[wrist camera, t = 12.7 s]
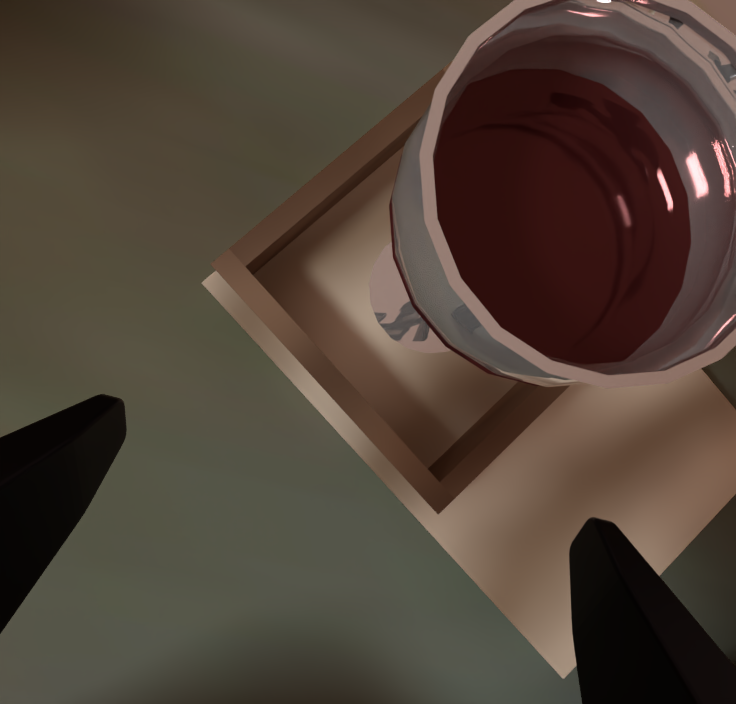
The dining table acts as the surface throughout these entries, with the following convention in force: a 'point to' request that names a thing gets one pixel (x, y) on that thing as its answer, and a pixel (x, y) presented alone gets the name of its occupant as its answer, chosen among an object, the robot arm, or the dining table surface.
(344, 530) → the dining table surface
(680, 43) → the wineglass
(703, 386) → the brown wooden tray
